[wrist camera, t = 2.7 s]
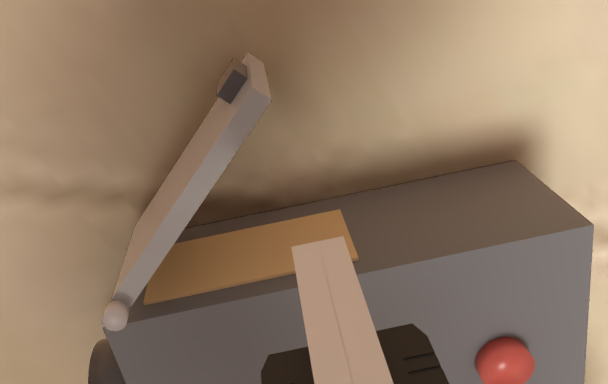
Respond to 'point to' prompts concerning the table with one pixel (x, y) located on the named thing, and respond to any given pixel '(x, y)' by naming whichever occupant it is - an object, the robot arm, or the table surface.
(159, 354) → the camera box
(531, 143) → the table surface
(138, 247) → the side door
